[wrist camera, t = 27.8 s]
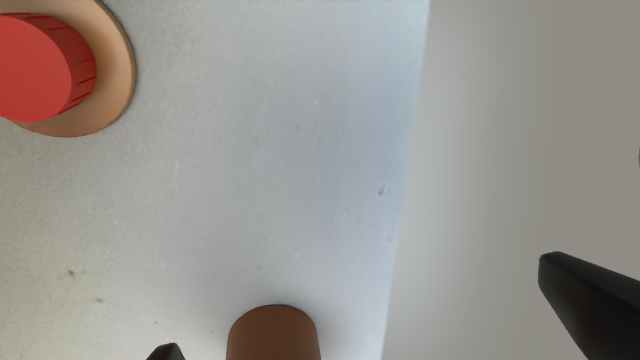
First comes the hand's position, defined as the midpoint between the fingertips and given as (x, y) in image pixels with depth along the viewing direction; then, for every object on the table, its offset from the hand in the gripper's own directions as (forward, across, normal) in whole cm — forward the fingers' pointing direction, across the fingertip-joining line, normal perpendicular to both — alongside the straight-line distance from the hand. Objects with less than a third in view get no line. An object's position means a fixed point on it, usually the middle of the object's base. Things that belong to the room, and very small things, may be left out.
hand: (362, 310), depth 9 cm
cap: (+10, +11, -7) cm, 16 cm away
